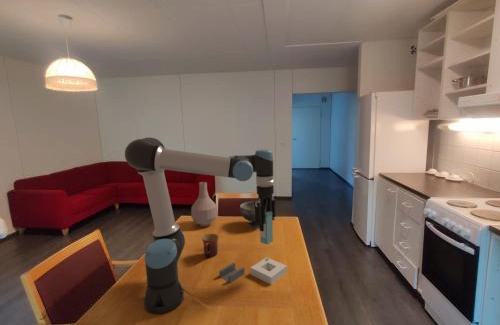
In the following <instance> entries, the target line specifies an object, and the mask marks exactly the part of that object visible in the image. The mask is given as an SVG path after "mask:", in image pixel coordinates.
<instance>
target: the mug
mask: <svg viewBox="0 0 500 325" xmlns="http://www.w3.org/2000/svg"><path fill="white" fill-rule="evenodd" d="M201 240H202V243H203V254H204V257H206V258H209V259H211V258H214V257H216V256H218V252H219V248H218V247H219V246H218V240H219V235H218V234H216V233H206V234H204V235H203V236H202V237H201Z"/></svg>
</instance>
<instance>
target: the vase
mask: <svg viewBox="0 0 500 325" xmlns="http://www.w3.org/2000/svg"><path fill="white" fill-rule="evenodd" d="M198 184H199V191H198V197H197V199H196V200H195V202H193V204H192V205H191V210H190V211H191V212H190V213H191V215H190V216H191V219H192V220H193V222H194V223H195V224H198V225H200V226H201V227H208V226H210V224H212V223H213V222H215V221H216V219H217V216H218V207H217V204H216V203H215V202H214V201H213V200H212V198H211V197H210V196H209V195H210V194H209V192H208V182H206V181H201V182H199V183H198Z"/></svg>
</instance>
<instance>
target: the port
mask: <svg viewBox="0 0 500 325" xmlns="http://www.w3.org/2000/svg"><path fill="white" fill-rule="evenodd" d="M249 270H250V273H249V274H250V276H252V277H255V278H257V279H259V280H261V281H263V282H265V283H267V284H269V285H274V284H275V283H276V282H277V281H278V280H279V279H281V278H282V277H284V276H285V275H286V274H287V273H288V265H286V264H284V263H281V262H279V261H276V260H274V259H272V258H270V257H265V258H263V259H262V260H260V261H258V262H257V263H255V264H253V265H252V266H250V268H249Z"/></svg>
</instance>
